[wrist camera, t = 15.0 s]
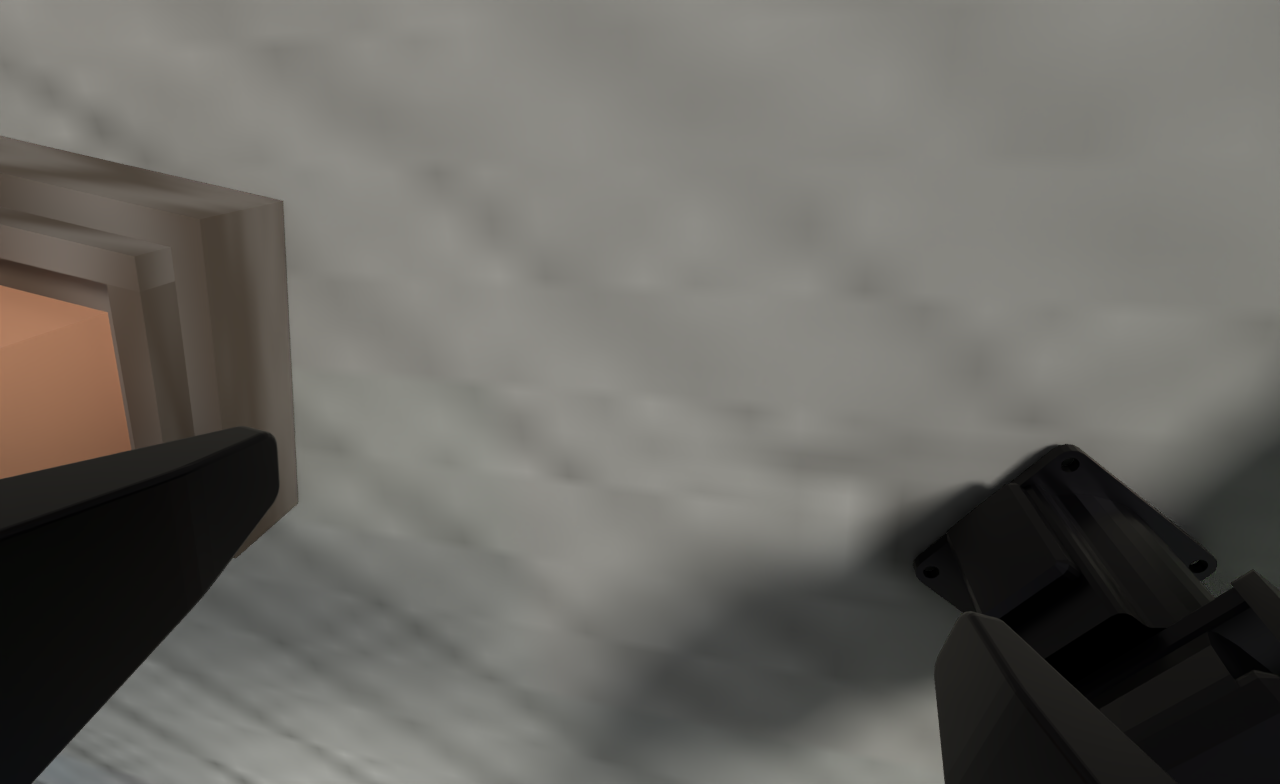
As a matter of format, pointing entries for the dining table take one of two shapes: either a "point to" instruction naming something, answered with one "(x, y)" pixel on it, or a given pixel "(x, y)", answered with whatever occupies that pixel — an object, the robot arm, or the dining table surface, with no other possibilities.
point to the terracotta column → (56, 384)
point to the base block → (163, 291)
